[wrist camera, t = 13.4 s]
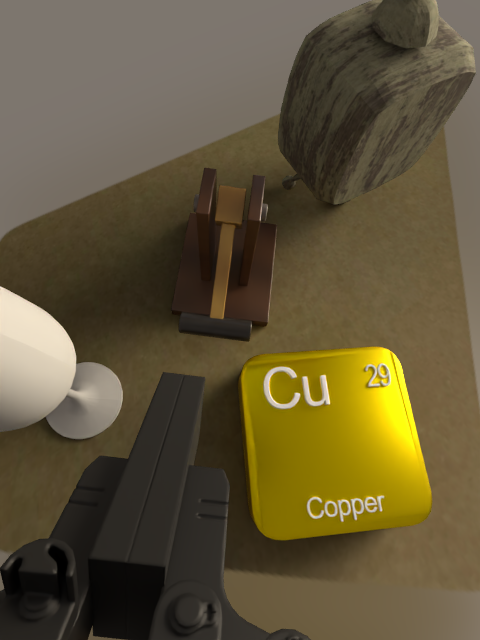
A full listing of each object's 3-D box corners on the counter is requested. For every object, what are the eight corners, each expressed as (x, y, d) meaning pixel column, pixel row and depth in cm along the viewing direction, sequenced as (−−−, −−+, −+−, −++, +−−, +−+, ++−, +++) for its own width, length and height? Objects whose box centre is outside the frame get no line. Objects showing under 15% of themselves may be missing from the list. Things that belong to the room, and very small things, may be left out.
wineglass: (50, 359, 37) (-140, 247, 17) (129, 361, 37) (32, 254, 17) (35, 440, 34) (-212, 419, 14) (120, 441, 34) (-6, 422, 15)
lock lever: (248, 339, 33) (249, 343, 31) (181, 331, 33) (177, 334, 30) (267, 199, 32) (270, 191, 30) (198, 190, 32) (195, 181, 30)
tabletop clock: (359, 141, 49) (491, -146, 26) (402, 191, 47) (591, -75, 23) (266, 183, 46) (321, -104, 22) (307, 239, 43) (417, -17, 20)
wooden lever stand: (266, 326, 39) (289, 269, 27) (172, 314, 39) (153, 251, 27) (275, 230, 43) (299, 144, 31) (190, 218, 43) (181, 127, 31)
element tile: (250, 533, 32) (255, 546, 28) (235, 365, 38) (238, 353, 33) (413, 515, 34) (443, 524, 29) (378, 355, 39) (399, 342, 34)
